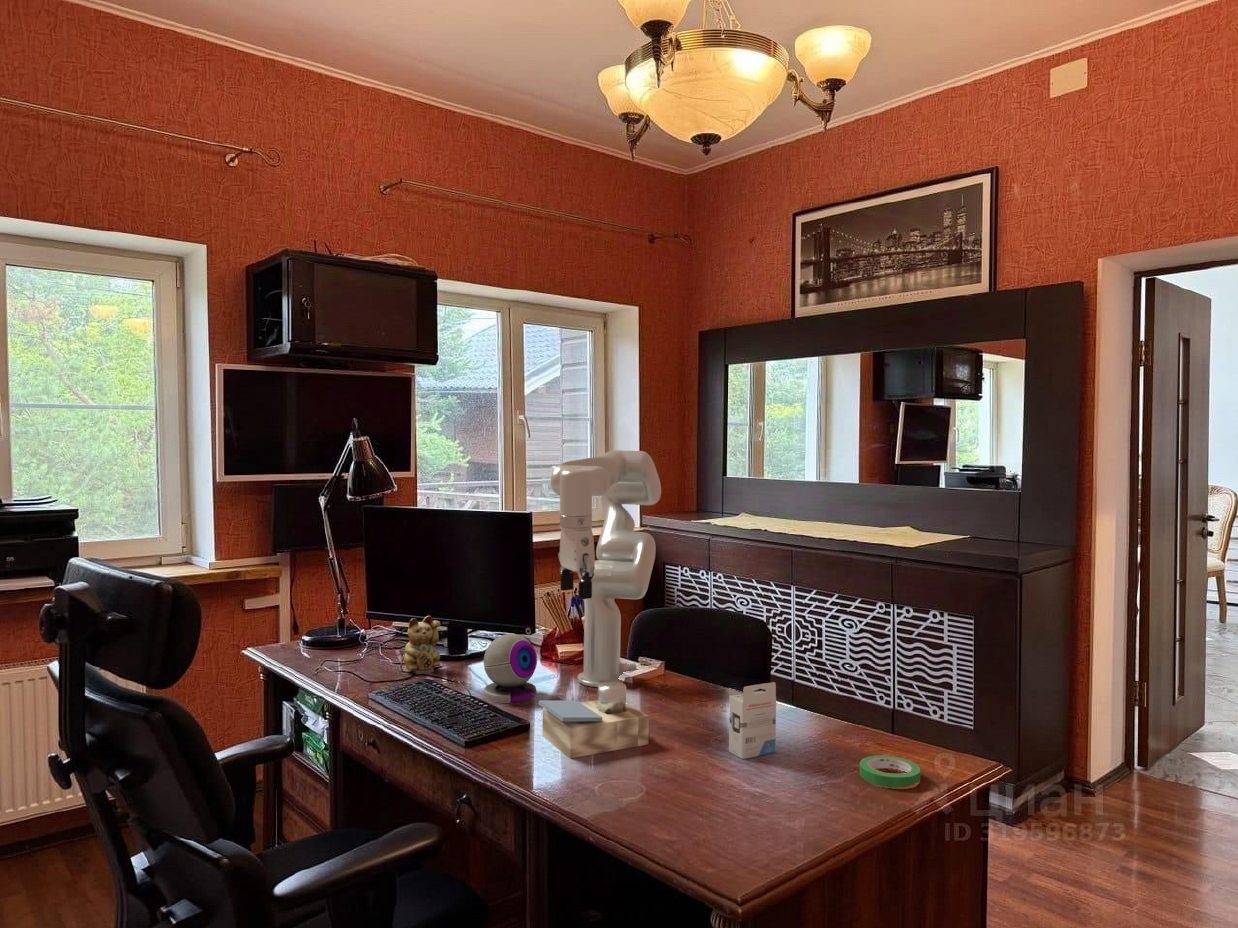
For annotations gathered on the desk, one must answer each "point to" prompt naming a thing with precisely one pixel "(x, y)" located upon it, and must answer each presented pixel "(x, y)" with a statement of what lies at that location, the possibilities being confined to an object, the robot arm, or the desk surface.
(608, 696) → the light bulb
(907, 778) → the tape roll
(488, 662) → the webcam
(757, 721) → the ink box
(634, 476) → the robot arm
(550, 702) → the plate
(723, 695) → the desk surface
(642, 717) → the block
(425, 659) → the decorative figurine
